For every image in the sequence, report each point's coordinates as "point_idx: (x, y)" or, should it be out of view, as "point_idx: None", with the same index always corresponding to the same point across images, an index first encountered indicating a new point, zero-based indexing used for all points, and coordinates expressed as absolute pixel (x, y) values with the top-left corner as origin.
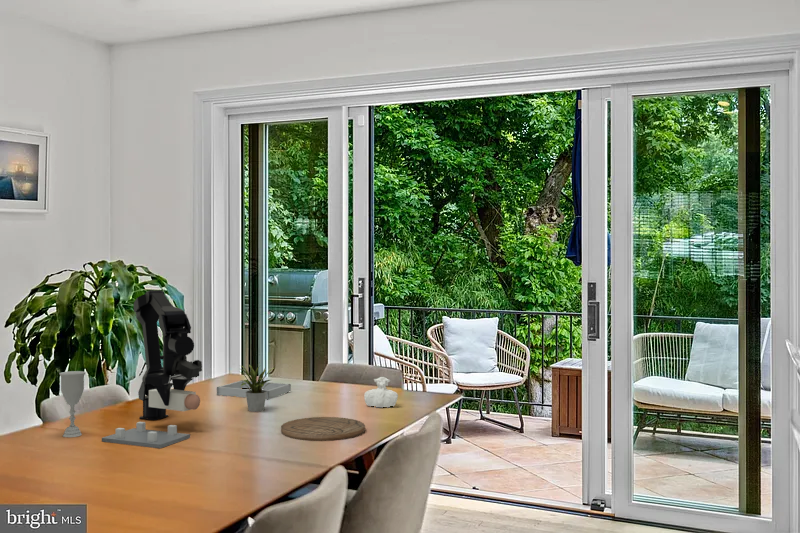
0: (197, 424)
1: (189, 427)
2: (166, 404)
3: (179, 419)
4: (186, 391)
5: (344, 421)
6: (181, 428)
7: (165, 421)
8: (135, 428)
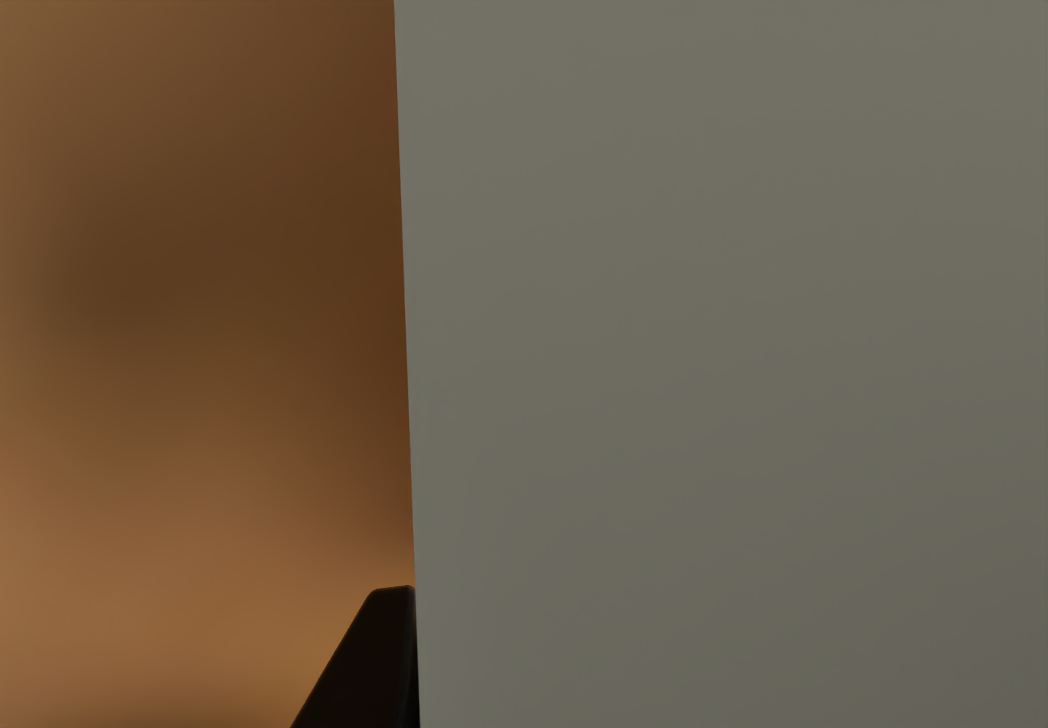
0: (38, 105)
1: (336, 57)
2: None
3: (18, 604)
4: (679, 574)
5: None
6: None
7: (250, 653)
8: None
